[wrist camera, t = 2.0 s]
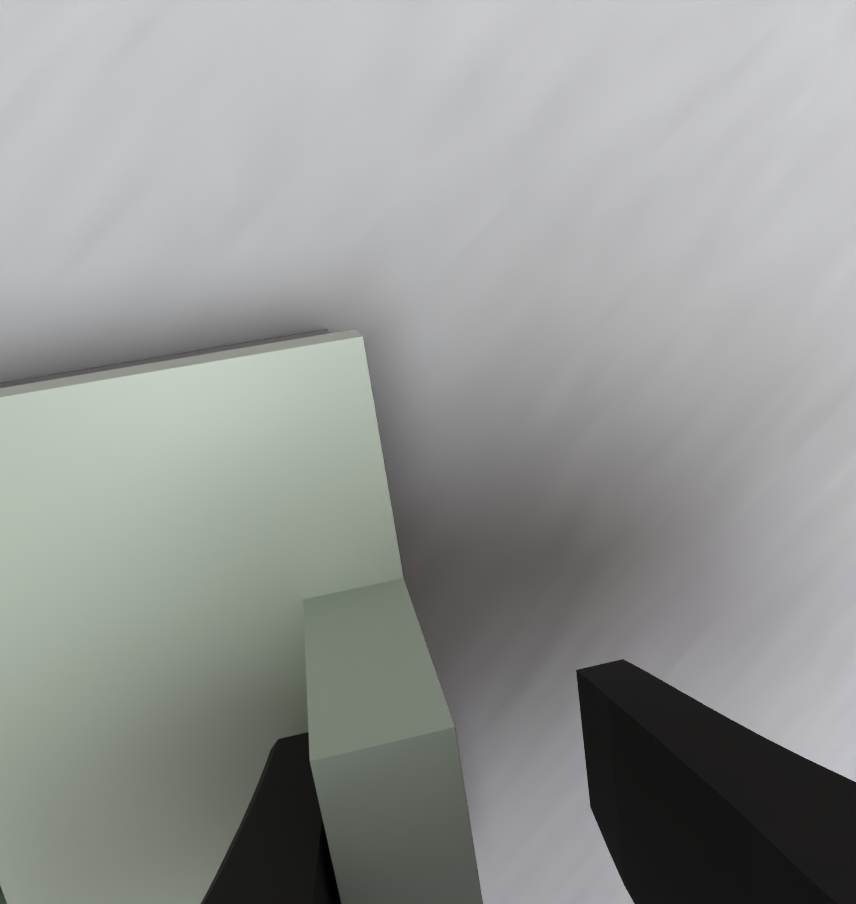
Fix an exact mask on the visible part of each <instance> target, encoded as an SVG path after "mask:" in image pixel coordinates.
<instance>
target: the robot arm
mask: <svg viewBox="0 0 856 904" xmlns="http://www.w3.org/2000/svg"><path fill="white" fill-rule="evenodd" d="M576 672H577V682H578V692H579V701H580V711H581V720H582V730H583V739H584V749H585V759H586V768H587V778H588V787H589V797H590V806H591V809H592V812H593V814H594V816H595V819H596V821H597V823H598V826H599V828H600V831H601V833H602V835H603V838H604V840H605V842H606V845H607V847H608V849H609V852H610V854H611V856H612V858H613V861H614V863H615V865H616V868H617V870H618V872H619V874H620V877H621V879H622V881H623V883H624V885H625V887H626V889H627V891H628V893H629V894H630V896H631V898H632V900H633V902H634V903H635V904H856V782H854V781H852V780H850V779H848V778H846V777H844V776H841V775H839V774H837V773H835V772H833V771H831V770H829V769H827V768H825V767H822V766H820V765H818V764H816V763H814V762H812V761H810V760H808V759H805V758H803V757H801V756H799V755H797V754H796V753H794V752H792V751H790V750H788V749H786V748H784V747H782V746H780V745H778V744H776V743H774V742H772V741H770V740H768V739H766V738H764V737H762V736H760V735H759V734H757V733H755V732H753V731H751V730H749V729H747V728H745V727H744V726H742V725H740V724H738V723H736V722H734V721H732V720H731V719H729V718H727V717H725V716H723V715H722V714H720V713H718V712H716V711H714V710H713V709H711V708H709V707H707V706H705V705H704V704H702V703H700V702H698V701H697V700H695V699H693V698H691V697H690V696H688V695H686V694H684V693H683V692H681V691H679V690H677V689H676V688H674V687H672V686H670V685H669V684H667V683H665V682H663V681H662V680H660V679H658V678H656V677H655V676H653V675H651V674H649V673H648V672H646V671H644V670H642V669H640V668H639V667H637V666H635V665H633V664H631V663H629V662H627V661H625V660H623V659H622V660H618V661H613V662H609V663H605V664H600V665H596V666H592V667H587V668H583V669H579V670H576ZM201 904H341V900H340V896H339V891H338V887H337V882H336V877H335V873H334V868H333V864H332V859H331V855H330V850H329V846H328V841H327V837H326V832H325V828H324V823H323V819H322V814H321V810H320V805H319V801H318V796H317V792H316V787H315V783H314V778H313V774H312V769H311V765H310V755H309V732H306V733H302V734H298V735H293V736H289V737H285V738H280V739H278V740H277V741H276V743H275V744H274V746H273V747H272V748H271V750H270V753H269V755H268V758H267V761H266V764H265V767H264V769H263V772H262V774H261V777H260V779H259V782H258V784H257V787H256V789H255V792H254V794H253V796H252V799H251V801H250V803H249V806H248V808H247V810H246V812H245V815H244V817H243V819H242V821H241V824H240V826H239V828H238V830H237V832H236V834H235V836H234V838H233V840H232V842H231V844H230V847H229V849H228V851H227V853H226V855H225V857H224V859H223V861H222V863H221V865H220V867H219V869H218V871H217V873H216V875H215V877H214V879H213V881H212V883H211V885H210V887H209V889H208V891H207V893H206V895H205V897H204V898H203V900H202V902H201Z"/></svg>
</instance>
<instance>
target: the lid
mask: <svg viewBox="0 0 856 904" xmlns="http://www.w3.org/2000/svg"><path fill="white" fill-rule="evenodd" d="M306 732H309V755H310V765H311V769H312V774H313V778H314V783H315V787H316V792H317V796H318V801H319V805H320V810H321V814H322V819H323V823H324V828H325V832H326V837H327V841H328V846H329V850H330V855H331V859H332V864H333V868H334V873H335V877H336V882H337V887H338V891H339V896H340V900H341V904H483V901H482V895H481V889H480V882H479V876H478V870H477V863H476V857H475V850H474V844H473V838H472V831H471V825H470V819H469V812H468V806H467V800H466V793H465V787H464V781H463V774H462V768H461V762H460V755H459V749H458V743H457V736H456V730H455V725H454V723H453V720H452V717H451V714H450V711H449V708H448V705H447V702H446V699H445V697H444V694H443V691H442V688H441V685H440V682H439V679H438V676H437V673H436V671H435V668H434V665H433V662H432V659H431V656H430V653H429V650H428V647H427V645H426V642H425V639H424V636H423V633H422V630H421V627H420V624H419V621H418V619H417V616H416V613H415V610H414V607H413V604H412V601H411V598H410V595H409V593H408V590H407V587H406V584H405V581H404V578H403V572H402V566H401V560H400V554H399V548H398V542H397V536H396V530H395V524H394V518H393V513H392V507H391V501H390V495H389V489H388V483H387V477H386V471H385V465H384V459H383V453H382V447H381V441H380V436H379V430H378V424H377V418H376V412H375V406H374V400H373V394H372V388H371V382H370V376H369V370H368V364H367V358H366V353H365V347H364V341H363V336H362V335H361V334H360V332H359V331H358V330H357V329H353V330H347V331H341V332H335V333H329V334H323V335H317V336H311V337H305V338H299V339H293V340H287V341H281V342H275V343H269V344H263V345H257V346H251V347H245V348H239V349H233V350H227V351H221V352H215V353H209V354H203V355H197V356H191V357H185V358H179V359H173V360H167V361H161V362H155V363H149V364H143V365H137V366H131V367H125V368H119V369H113V370H107V371H101V372H95V373H89V374H83V375H77V376H71V377H65V378H59V379H53V380H47V381H41V382H35V383H29V384H23V385H17V386H11V387H5V388H0V904H201V902H202V900H203V898H204V897H205V895H206V893H207V891H208V889H209V887H210V885H211V883H212V881H213V879H214V877H215V875H216V873H217V871H218V869H219V867H220V865H221V863H222V861H223V859H224V857H225V855H226V853H227V851H228V849H229V847H230V844H231V842H232V840H233V838H234V836H235V834H236V832H237V830H238V828H239V826H240V824H241V821H242V819H243V817H244V815H245V812H246V810H247V808H248V806H249V803H250V801H251V799H252V796H253V794H254V792H255V789H256V787H257V784H258V782H259V779H260V777H261V774H262V772H263V769H264V767H265V764H266V761H267V758H268V755H269V753H270V750H271V748H272V747H273V746H274V744H275V743H276V741H277V740H278V739H280V738H285V737H289V736H293V735H298V734H302V733H306Z"/></svg>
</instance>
